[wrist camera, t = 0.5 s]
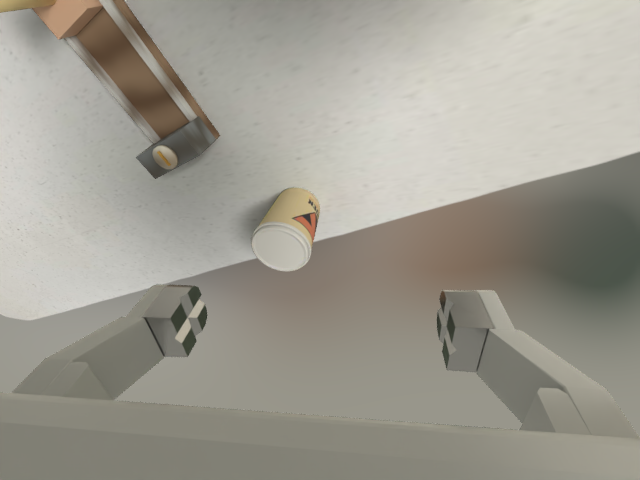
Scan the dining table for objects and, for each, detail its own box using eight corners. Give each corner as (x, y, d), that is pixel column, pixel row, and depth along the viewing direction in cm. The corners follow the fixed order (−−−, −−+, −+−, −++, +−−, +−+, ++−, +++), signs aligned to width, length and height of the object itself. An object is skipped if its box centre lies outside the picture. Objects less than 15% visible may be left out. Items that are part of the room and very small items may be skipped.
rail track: (-20, -83, 39) (-94, -89, 33) (17, -149, 34) (-62, -169, 29) (178, 158, 56) (152, 181, 50) (220, 135, 52) (196, 158, 46)
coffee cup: (328, 226, 59) (314, 273, 50) (280, 226, 62) (259, 272, 53) (320, 181, 53) (302, 226, 45) (267, 183, 56) (241, 226, 47)
